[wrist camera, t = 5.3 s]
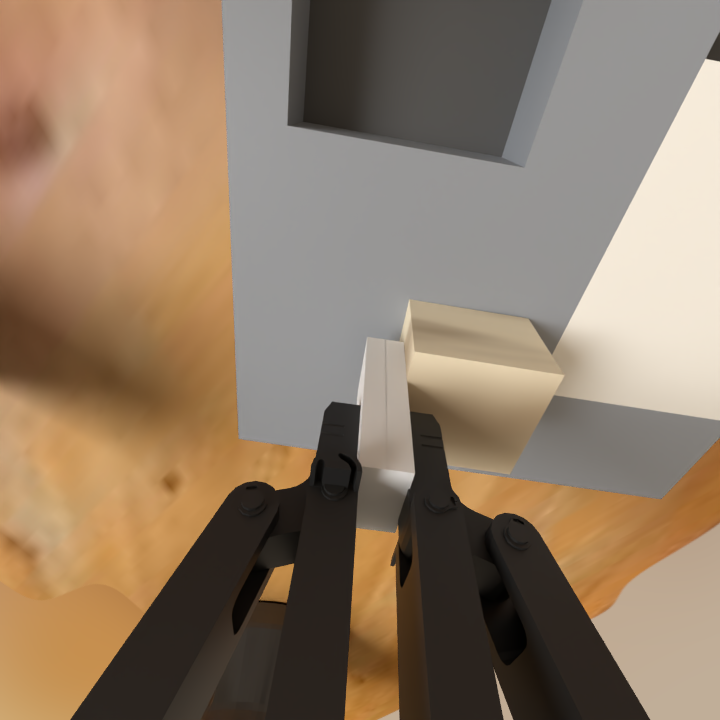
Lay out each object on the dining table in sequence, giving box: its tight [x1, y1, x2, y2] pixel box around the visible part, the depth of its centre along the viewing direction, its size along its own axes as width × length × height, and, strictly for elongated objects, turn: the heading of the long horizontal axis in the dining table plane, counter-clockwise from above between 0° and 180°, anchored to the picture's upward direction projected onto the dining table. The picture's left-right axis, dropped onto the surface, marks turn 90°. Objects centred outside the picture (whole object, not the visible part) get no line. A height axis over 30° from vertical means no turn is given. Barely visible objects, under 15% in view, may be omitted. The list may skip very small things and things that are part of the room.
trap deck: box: [222, 0, 720, 499], centre depth 15 cm, size 28×24×4 cm
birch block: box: [399, 299, 565, 475], centre depth 16 cm, size 5×5×4 cm
